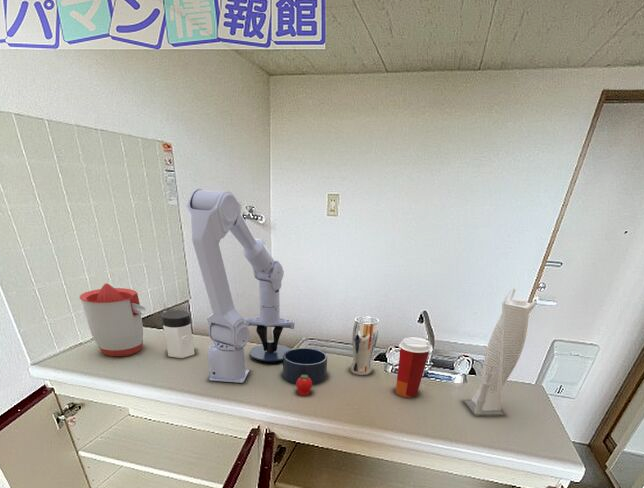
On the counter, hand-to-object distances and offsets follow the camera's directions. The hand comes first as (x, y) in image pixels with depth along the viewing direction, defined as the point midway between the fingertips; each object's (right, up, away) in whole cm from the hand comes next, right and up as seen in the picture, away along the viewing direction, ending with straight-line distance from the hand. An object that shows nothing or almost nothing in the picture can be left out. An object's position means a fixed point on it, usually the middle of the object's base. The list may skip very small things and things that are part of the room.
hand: (270, 350), depth 124 cm
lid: (0, -1, +1) cm, 1 cm away
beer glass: (+27, -8, -6) cm, 29 cm away
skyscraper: (+56, -20, -22) cm, 63 cm away
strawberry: (+10, -16, -18) cm, 26 cm away
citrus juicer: (-46, 0, +3) cm, 46 cm away
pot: (+10, -10, -9) cm, 17 cm away
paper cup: (+38, -16, -17) cm, 44 cm away
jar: (-28, -1, +2) cm, 28 cm away
